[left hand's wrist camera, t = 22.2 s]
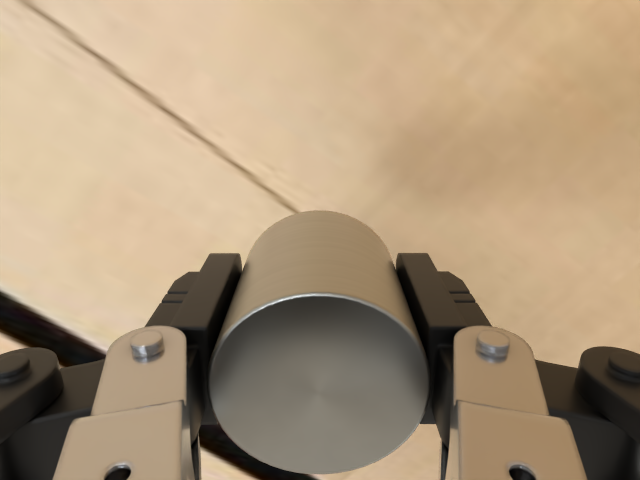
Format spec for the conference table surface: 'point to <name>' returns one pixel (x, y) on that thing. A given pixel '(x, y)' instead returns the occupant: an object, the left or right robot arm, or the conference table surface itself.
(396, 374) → the tin
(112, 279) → the conference table surface
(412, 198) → the conference table surface
